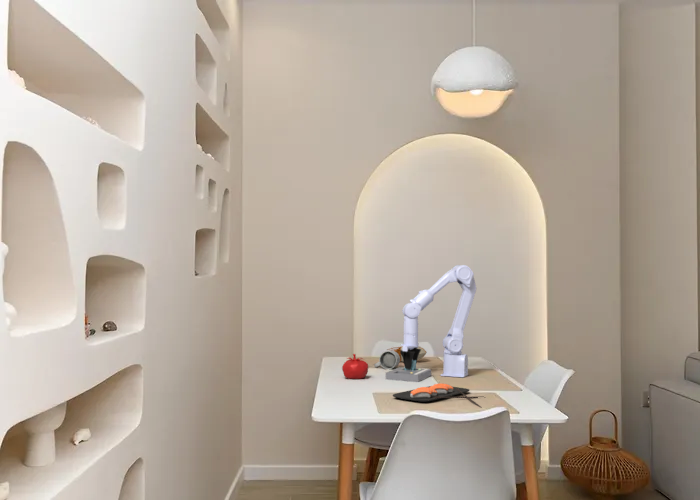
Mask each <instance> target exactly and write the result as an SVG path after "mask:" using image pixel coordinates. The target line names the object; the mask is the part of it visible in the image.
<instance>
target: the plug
mask: <svg viewBox="0 0 700 500" xmlns="http://www.w3.org/2000/svg"><path fill="white" fill-rule="evenodd" d="M416 368H417V363H416V360H413V359H412V365H411V369H405V370H413V371H415V370H416Z"/></svg>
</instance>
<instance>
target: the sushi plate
mask: <svg viewBox="0 0 700 500" xmlns="http://www.w3.org/2000/svg"><path fill="white" fill-rule="evenodd" d="M469 392H470V389H469V388H467V387H466V388H464V387H458V386H457V387H456V386H452V385H450V384H447V383H434V384H433V385H430V386H422V387H421V386H420V387H417V388H415V389H410V390H406V391H401V392H398V393H397V392H396V393H394V394H392V397H394V398H398V399H402V400H406V401H410V400H411V401H412V402H417V401H418V403H427V402H431V401H436V400H437V401H438V400H441V399H467V400H469V401H470V402H471V403H472V404H473V405H475V406H477V407H479V408H481V409H483V408H482V406H481V405H479V404H478V403H477V402H476V401H475V400H473V399H479V398H478V397H479V396H468V395H466V394H465V393H469ZM456 395H463V396H456ZM484 396H485V395H484ZM484 396H483V395H482V396H480V397H484ZM484 398H485V397H484ZM411 401H410V402H411Z"/></svg>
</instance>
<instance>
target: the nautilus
mask: <svg viewBox="0 0 700 500" xmlns="http://www.w3.org/2000/svg"><path fill="white" fill-rule="evenodd" d="M417 349H421V351H420V353H419V355H418V358H417V361H418V360H420V359H422V358H424V357H425V355H426V354H427V350H425V348H423V347H421V346H419V345H418V348H417ZM401 350H402V346H398V347H397V346H396V347H394V346H392V347H391V348H388V349H387V351H395V352H397V353H398V354H399V356H400V362H402V363H404V361H403V358H402V355H401V353H400V351H401Z"/></svg>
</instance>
